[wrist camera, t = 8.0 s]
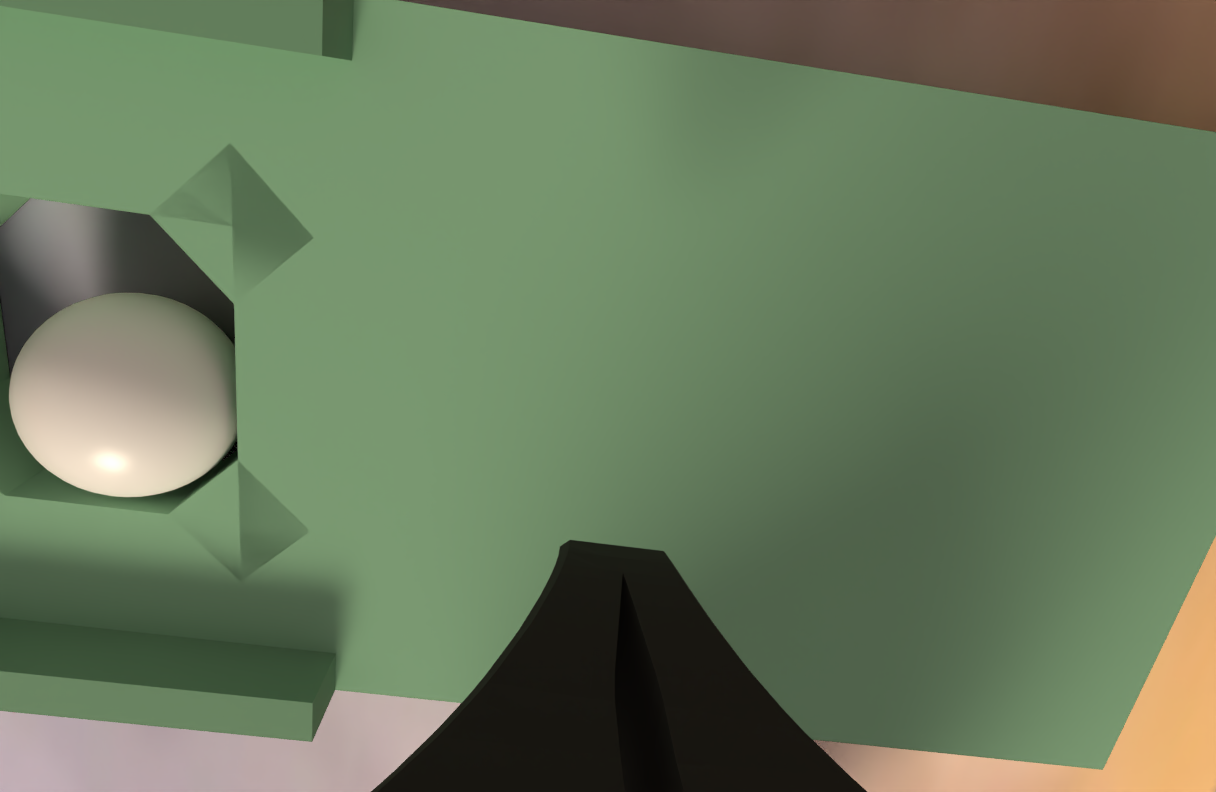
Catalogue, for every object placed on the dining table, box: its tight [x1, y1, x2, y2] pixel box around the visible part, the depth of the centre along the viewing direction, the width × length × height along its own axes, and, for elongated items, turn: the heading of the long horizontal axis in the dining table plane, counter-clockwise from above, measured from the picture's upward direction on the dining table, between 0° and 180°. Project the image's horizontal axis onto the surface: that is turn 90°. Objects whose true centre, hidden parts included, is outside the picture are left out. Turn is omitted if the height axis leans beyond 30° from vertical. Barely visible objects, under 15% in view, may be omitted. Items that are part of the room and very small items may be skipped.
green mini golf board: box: [0, 0, 1216, 770], centre depth 15 cm, size 14×30×4 cm, turn 82°
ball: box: [9, 293, 237, 497], centre depth 15 cm, size 4×4×4 cm
